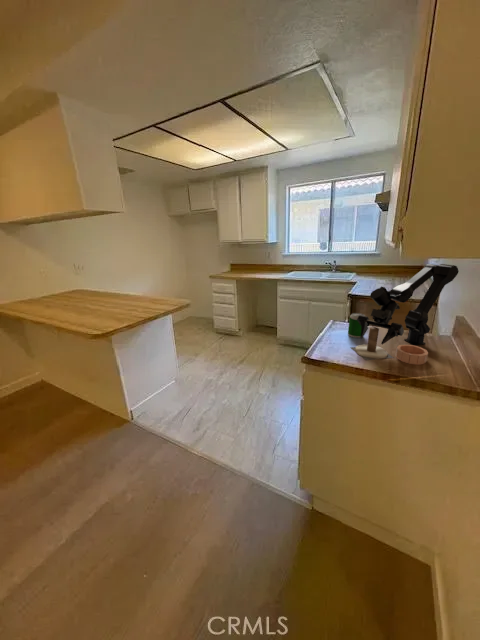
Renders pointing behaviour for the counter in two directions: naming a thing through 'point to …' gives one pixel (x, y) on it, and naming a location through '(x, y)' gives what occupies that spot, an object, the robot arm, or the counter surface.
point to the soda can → (354, 326)
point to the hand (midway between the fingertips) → (371, 340)
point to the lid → (372, 346)
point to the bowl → (411, 354)
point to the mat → (370, 358)
